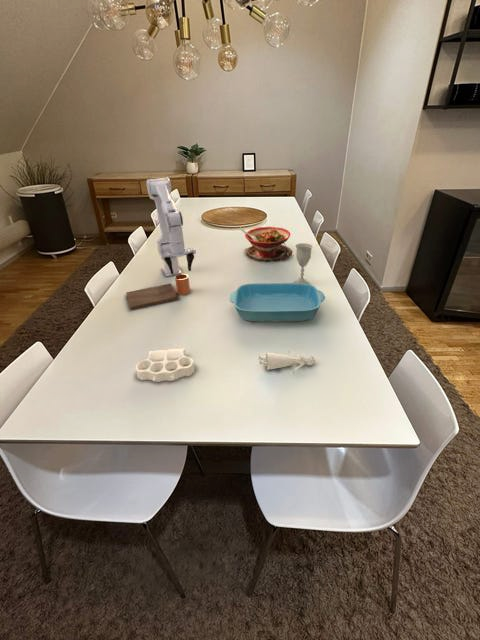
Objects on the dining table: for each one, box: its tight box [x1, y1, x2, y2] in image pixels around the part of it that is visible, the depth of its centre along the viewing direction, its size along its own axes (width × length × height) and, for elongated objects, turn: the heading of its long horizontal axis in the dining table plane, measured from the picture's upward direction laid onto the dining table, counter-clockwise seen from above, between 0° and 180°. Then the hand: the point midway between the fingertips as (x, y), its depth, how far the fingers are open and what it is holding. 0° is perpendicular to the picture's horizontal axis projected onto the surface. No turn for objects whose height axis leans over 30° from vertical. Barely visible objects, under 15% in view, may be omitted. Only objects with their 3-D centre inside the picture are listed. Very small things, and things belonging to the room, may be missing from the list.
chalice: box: [295, 242, 314, 284], centre depth 152 cm, size 7×7×18 cm
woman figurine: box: [258, 349, 316, 374], centre depth 109 cm, size 12×4×18 cm
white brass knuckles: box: [134, 347, 195, 383], centre depth 110 cm, size 3×18×15 cm
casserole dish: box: [229, 282, 326, 323], centre depth 136 cm, size 37×22×7 cm, turn 86°
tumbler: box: [174, 273, 191, 296], centre depth 152 cm, size 6×6×8 cm
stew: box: [238, 225, 293, 263], centre depth 182 cm, size 28×24×16 cm
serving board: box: [125, 282, 179, 311], centre depth 151 cm, size 14×20×2 cm
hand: (180, 271), depth 149 cm, fingers open, 7 cm apart
